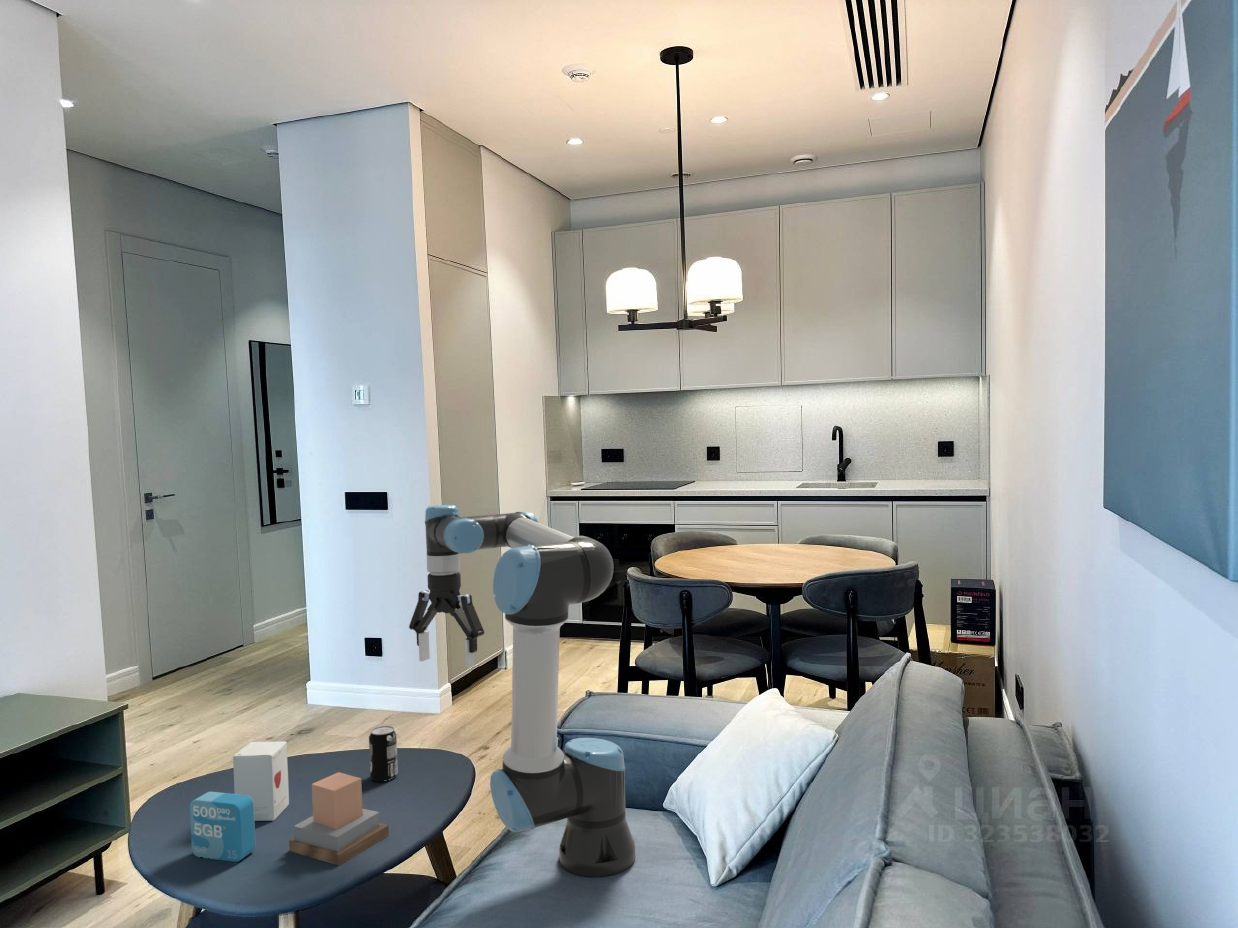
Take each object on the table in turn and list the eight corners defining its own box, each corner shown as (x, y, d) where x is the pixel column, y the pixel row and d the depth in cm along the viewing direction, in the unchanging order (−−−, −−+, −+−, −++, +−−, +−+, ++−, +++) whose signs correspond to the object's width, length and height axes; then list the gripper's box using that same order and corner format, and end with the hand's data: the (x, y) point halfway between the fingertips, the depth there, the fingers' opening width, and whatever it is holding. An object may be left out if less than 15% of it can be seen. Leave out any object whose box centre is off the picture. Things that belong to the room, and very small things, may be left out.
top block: (379, 825, 186) (378, 812, 186) (338, 851, 175) (337, 836, 175) (337, 815, 191) (336, 802, 191) (294, 840, 180) (293, 825, 180)
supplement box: (274, 821, 194) (271, 755, 194) (234, 822, 194) (231, 755, 194) (290, 803, 203) (287, 740, 203) (252, 804, 204) (249, 741, 203)
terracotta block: (362, 815, 184) (361, 778, 184) (336, 829, 178) (334, 790, 178) (340, 808, 188) (338, 771, 187) (313, 821, 182) (311, 783, 182)
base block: (388, 838, 186) (388, 824, 186) (339, 869, 174) (338, 854, 174) (340, 825, 193) (340, 812, 193) (289, 854, 181) (289, 840, 180)
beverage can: (368, 775, 219) (366, 727, 218) (395, 770, 222) (393, 723, 221) (372, 784, 213) (370, 736, 212) (400, 779, 216) (398, 731, 215)
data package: (191, 856, 179) (188, 799, 178) (207, 846, 183) (204, 790, 183) (241, 863, 176) (238, 804, 175) (256, 852, 180) (253, 795, 180)
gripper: (497, 572, 199) (500, 664, 200) (413, 566, 211) (416, 653, 212) (477, 578, 193) (480, 673, 194) (391, 571, 205) (395, 661, 206)
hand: (447, 663), depth 203 cm, fingers open, 13 cm apart
